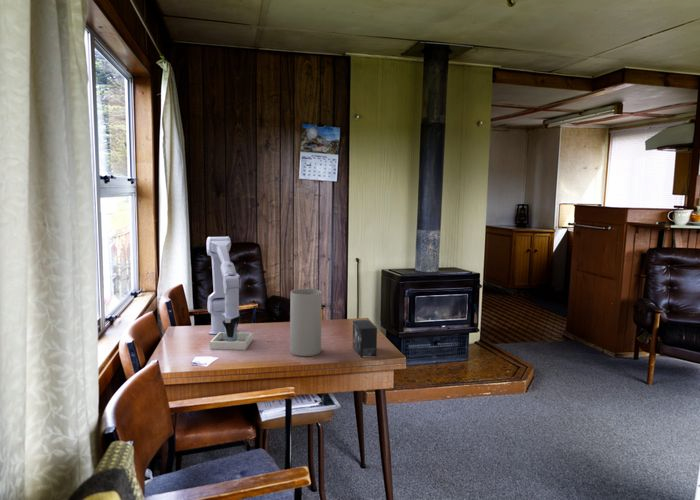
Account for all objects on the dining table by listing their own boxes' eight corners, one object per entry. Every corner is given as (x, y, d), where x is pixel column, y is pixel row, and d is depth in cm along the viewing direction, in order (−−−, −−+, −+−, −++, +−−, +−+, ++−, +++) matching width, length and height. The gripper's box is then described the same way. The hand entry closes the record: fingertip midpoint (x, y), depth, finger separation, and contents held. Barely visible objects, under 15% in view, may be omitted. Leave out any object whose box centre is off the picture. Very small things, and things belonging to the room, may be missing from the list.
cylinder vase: (325, 354, 200) (327, 293, 197) (297, 358, 194) (298, 295, 191) (312, 345, 211) (313, 288, 208) (285, 349, 204) (285, 290, 202)
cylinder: (227, 338, 213) (226, 322, 212) (238, 338, 213) (237, 322, 212) (224, 341, 208) (223, 325, 207) (236, 341, 208) (235, 325, 207)
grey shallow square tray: (219, 338, 218) (219, 332, 218) (252, 339, 218) (252, 332, 218) (209, 348, 203) (209, 341, 203) (245, 349, 203) (245, 342, 203)
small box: (351, 347, 209) (352, 320, 208) (367, 346, 211) (368, 319, 210) (360, 357, 197) (361, 328, 196) (377, 356, 199) (377, 327, 197)
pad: (225, 341, 214) (225, 340, 214) (242, 341, 214) (242, 341, 214) (221, 346, 207) (221, 345, 207) (238, 346, 207) (238, 346, 207)
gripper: (226, 300, 216) (226, 330, 217) (217, 307, 202) (217, 340, 203) (242, 300, 216) (242, 330, 217) (235, 307, 202) (235, 340, 203)
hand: (231, 335), depth 210 cm, fingers closed on cylinder, 5 cm apart
